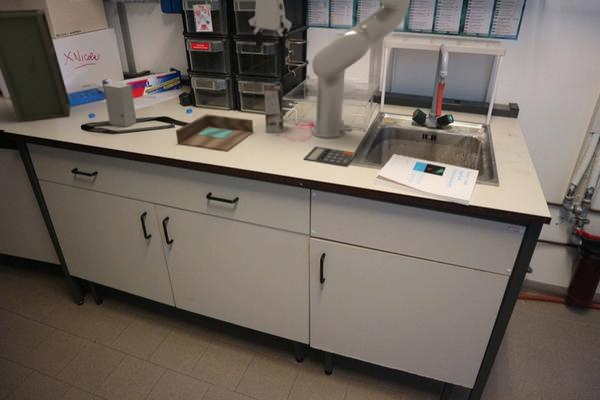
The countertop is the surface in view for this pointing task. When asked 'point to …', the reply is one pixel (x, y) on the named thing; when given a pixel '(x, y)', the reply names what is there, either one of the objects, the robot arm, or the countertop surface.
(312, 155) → the calculator
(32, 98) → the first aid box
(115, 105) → the skincare box
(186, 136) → the tray
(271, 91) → the coffee box
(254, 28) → the robot arm
